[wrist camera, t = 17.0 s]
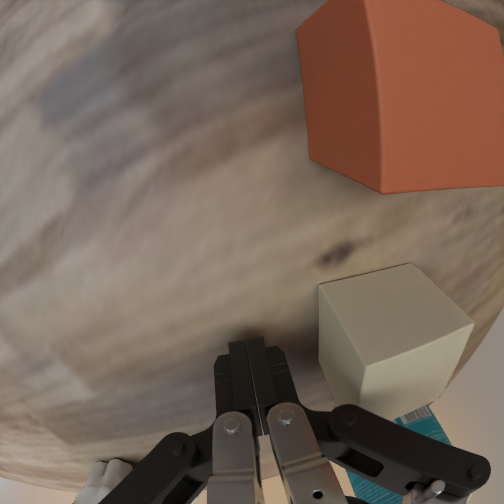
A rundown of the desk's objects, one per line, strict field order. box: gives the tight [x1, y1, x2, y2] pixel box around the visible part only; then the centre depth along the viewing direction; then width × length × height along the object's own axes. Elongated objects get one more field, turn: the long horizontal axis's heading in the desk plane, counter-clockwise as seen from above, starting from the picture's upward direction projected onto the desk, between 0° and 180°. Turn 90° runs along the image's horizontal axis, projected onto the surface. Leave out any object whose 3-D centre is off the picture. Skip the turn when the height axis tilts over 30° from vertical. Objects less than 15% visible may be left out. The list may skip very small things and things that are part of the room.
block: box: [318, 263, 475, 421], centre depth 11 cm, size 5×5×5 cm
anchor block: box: [296, 0, 504, 194], centre depth 7 cm, size 5×5×5 cm
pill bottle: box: [346, 404, 472, 504], centre depth 13 cm, size 8×7×14 cm
